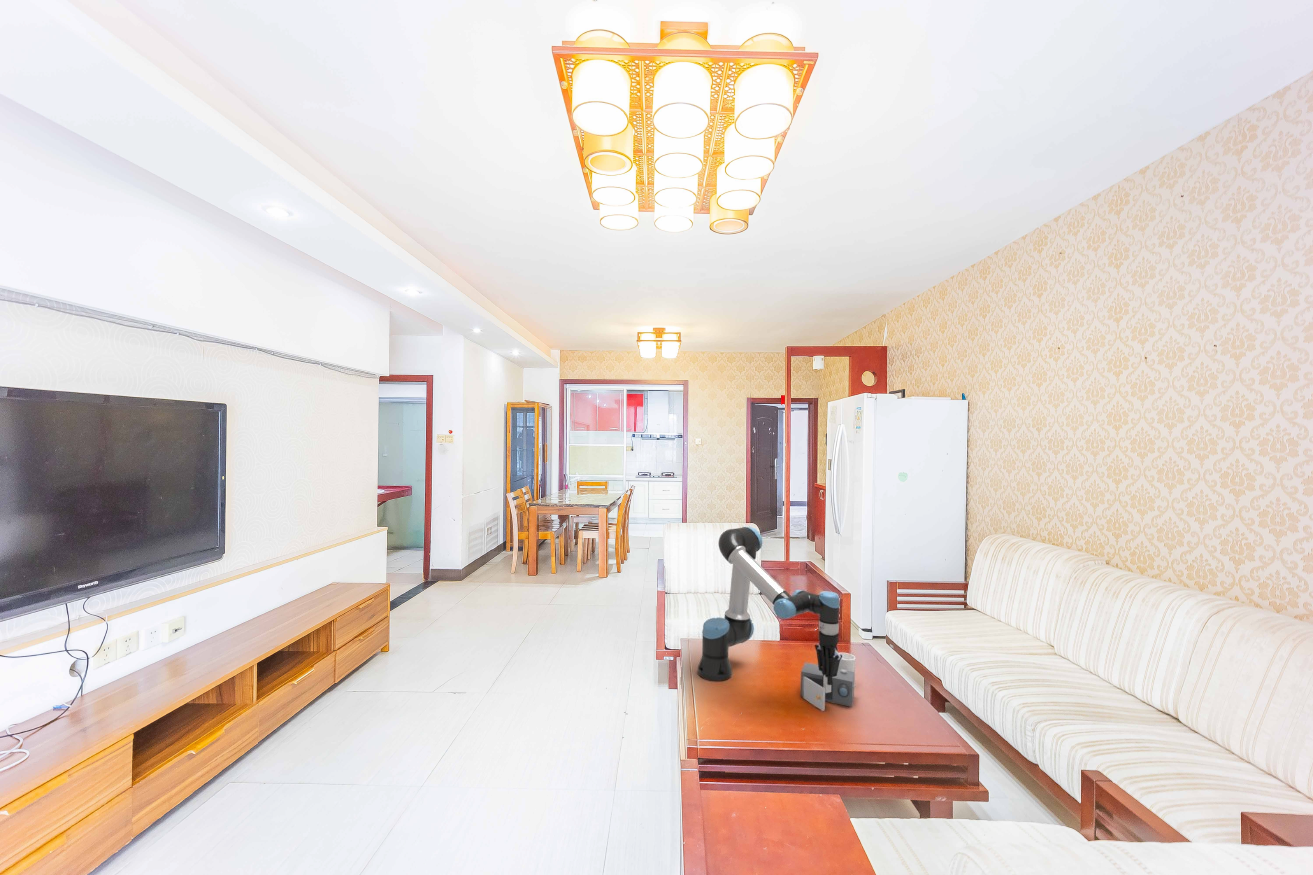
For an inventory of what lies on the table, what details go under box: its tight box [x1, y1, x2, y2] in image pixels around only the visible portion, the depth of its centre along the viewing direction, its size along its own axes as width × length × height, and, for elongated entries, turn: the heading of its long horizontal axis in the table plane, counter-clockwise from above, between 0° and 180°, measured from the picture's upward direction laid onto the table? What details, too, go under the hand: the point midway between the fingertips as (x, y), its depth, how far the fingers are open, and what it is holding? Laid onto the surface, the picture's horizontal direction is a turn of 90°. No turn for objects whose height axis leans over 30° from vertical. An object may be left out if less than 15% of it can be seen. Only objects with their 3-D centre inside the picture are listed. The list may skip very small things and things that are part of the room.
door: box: [801, 676, 826, 712], centre depth 214 cm, size 12×2×8 cm, turn 25°
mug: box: [838, 652, 856, 688], centre depth 234 cm, size 12×8×12 cm
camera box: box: [799, 662, 856, 708], centre depth 221 cm, size 20×12×11 cm, turn 65°
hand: (827, 691), depth 212 cm, fingers closed
